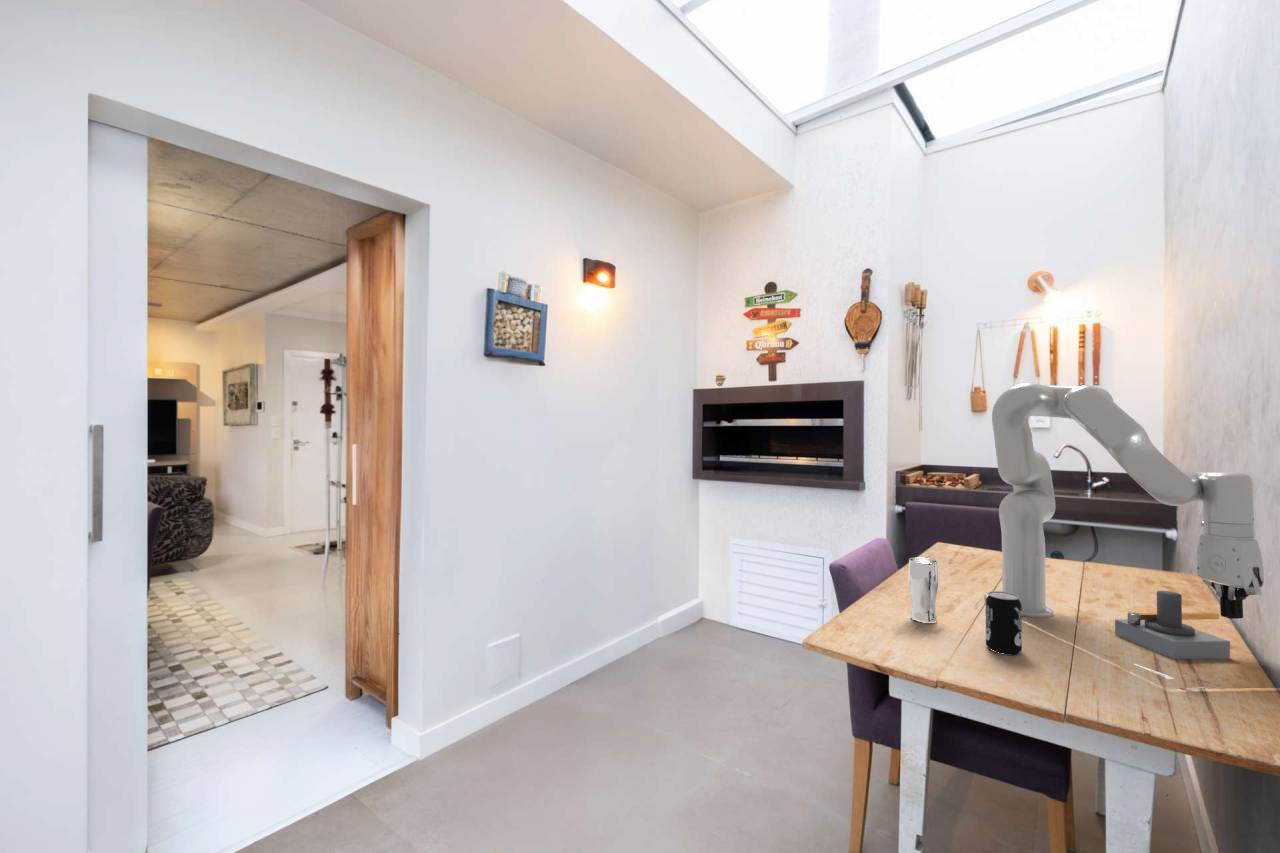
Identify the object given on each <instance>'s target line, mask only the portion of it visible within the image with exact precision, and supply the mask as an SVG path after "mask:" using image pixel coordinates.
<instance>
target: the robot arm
mask: <svg viewBox="0 0 1280 853" xmlns="http://www.w3.org/2000/svg"><path fill="white" fill-rule="evenodd" d="M1030 417H1046V418H1047V417H1049V418H1050V417H1051V418H1062V419H1072V420H1073V421H1075V422H1076V423H1077V424H1078V425H1079V426H1080V427H1082V428H1083V429H1084V430H1085V431H1086V433H1088V434H1089V435H1090V436H1091V437H1092V438H1093V439H1095V441H1097V443H1099V444H1100V445H1101V447H1103V448H1104V449H1105V450H1106V451H1107V453H1108V454H1109V455H1110V456H1111V457H1112V459H1114V461H1116V462H1117V463H1118V465H1119V466H1120V467H1121V468H1122V469H1123V471H1125V473H1127V474H1128V475H1129V476H1130V478H1132V480H1133V481H1135V482H1136V483H1137V484H1138V485H1139V486H1140V487H1141V488H1142V489H1143V490H1144V491H1146V492H1147V493H1148V494H1149V495H1150V496H1151V497H1153V498H1154V499H1155V500H1156V501H1158V502H1160V503H1161V504H1163V505H1167V506H1172V507H1174V506H1175V507H1179V506H1185V505H1188V504H1191V503H1202V516H1203V521H1202V522H1201V523H1200V526H1201V527H1202V528H1203V533H1200V535H1199V538H1198V541H1197V542H1198V543H1197V548H1196V556H1195V572H1196V575H1197V577H1198V578H1200V579H1201V580H1202V583H1204V584H1205V585H1207V586H1209V587H1210V586H1211V587H1212V588H1213V589H1214V592H1215V593H1216V594H1215V595H1216V596H1217V597H1218V598H1219V605H1220V606H1219V607H1220V608H1219V609H1220V611H1219V612H1220V617H1224V618H1227V619H1230V620H1232V619H1239V620H1240V619H1243V618H1244V604H1243V601H1245V600H1247V597H1249V596H1261V595H1262V590H1261V588H1262V587H1263V586H1264V582H1265V572H1264V564H1263V563H1264V562H1263V556H1262V552H1261V548H1260V546H1259V544H1260V543H1259V542H1258V539H1256V537H1255V536H1256V535H1255V518H1254V517H1255V516H1254V515H1255V514H1254V491H1253V490H1254V489H1253V486H1254V485H1253V479H1252V478H1251V476H1250V475H1249V474H1247V473H1244V472H1234V471H1233V472H1232V471H1214V472H1205V471H1204V472H1202V471H1195V470H1185V469H1180V468H1178V467H1177V465H1175V464H1174V463H1172V461H1170V460H1169V459H1168V458H1167V457H1166V456H1165V455H1164V454H1162V452H1161V451H1160V450H1159V449H1158V448H1157V447H1156V446H1155V445H1154V443H1152V441H1151V439H1150V437H1149V435H1148V433H1147V431H1146V429H1145V428H1144V427H1143V426H1142V425H1141V424H1140V423H1139V422H1137V421H1136V420H1135V419H1134V418H1133V417H1132V416H1130V415H1129V414H1128V413H1127V412H1125V411H1124V410H1123V409H1122V408H1121V407H1120V406H1119V405H1118V404H1117V403H1115V401H1114V398H1113V397H1112V395H1111V394H1110V393H1109V391H1107V390H1106V389H1104V388H1102V387H1098V386H1094V385H1085V384H1084V385H1078V386H1065V385H1062V386H1061V385H1047V384H1040V383H1034V382H1033V383H1032V382H1027V383H1026V382H1024V383H1020V384H1016V385H1013V386H1011V387H1010V388H1008V389H1007V390H1005V391H1004V392H1002V393H1001V395H1000V396H999V397H997V399H996V401H995V403H994V405H993V407H992V411H991V423H992V429H993V439H994V446H995V455H996V462H997V472H998V474H999V477H1000V479H1001V480H1002V481H1003V482H1005V483H1006V484H1008V485H1011V486H1012V490H1013V491H1012V492H1010V493H1009V494H1007V495H1006V496H1005V497H1004V498H1003V499H1002V500H1001V502H1000V503H999V508H998V518H999V523H1000V531H1001V563H1002V564H1001V568H1002V569H1001V576H1002V577H1001V578H1002V579H1001V590H999V591H1000V592H1008V593H1012V594H1015V595H1017V596H1019V601H1020V602H1021V605H1022V616H1023V618H1030V617H1031V618H1051V617H1053V616H1054V611H1053V609H1052V607H1049V606H1047V604H1046V603H1047V601H1046V600H1047V598H1046V597H1047V595H1046V592H1047V590H1046V589H1047V588H1046V580H1047V579H1046V578H1047V577H1046V538H1045V532H1044V526H1043V525H1044V523H1046V522H1048V521H1049V520H1051V519H1052V518H1053V516H1054V515H1055V512H1056V508H1057V506H1056V496H1055V490H1054V484H1053V483H1054V482H1053V475H1052V472H1051V466H1050V464H1049V461H1048V459H1047V458H1046V457H1045V455H1043V454H1042V453H1041V452H1038V451H1036V450H1035V448H1034V443H1033V434H1032V430H1031V427H1030V424H1029V419H1030ZM987 597H988V594H987V595H986V594H985V595H984V597H983V600H984V602H985V603H986V598H987Z"/></svg>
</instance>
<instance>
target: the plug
mask: <svg viewBox="0 0 1280 853" xmlns="http://www.w3.org/2000/svg"><path fill="white" fill-rule="evenodd" d="M1182 598H1183V596H1182V594H1181V593H1178V592H1174V591H1170V590H1157V591H1156V613H1157V620H1145V627H1146V628H1148V629H1150V630H1153V631H1156V632H1160V633H1164V634H1169V635H1175V636H1194V635H1195V629H1196V628H1194V627H1192V626H1191V625H1188V624H1185V623H1183V620H1182V613H1183V611H1182V610H1183V609H1182V608H1183V606H1182Z"/></svg>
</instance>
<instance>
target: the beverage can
mask: <svg viewBox="0 0 1280 853" xmlns="http://www.w3.org/2000/svg"><path fill="white" fill-rule="evenodd" d="M1000 591H1001V590H998V591H997V590H994V591H993V590H992V591H989V592H987V595H988V597H987V598H986V602H985V645H986V646H987V648H988V649H989V648H990V649H992V650H994V651H996V652H995V653H997V652H999V653H998V654H1000V653H1004V654H1003V655H1005V654H1012V655H1011V656H1014V655H1015V654H1016V655H1019V653H1020V652H1022V650H1023V649H1022V648H1023V646H1022V643H1023V642H1022V638H1023V634H1022V632H1023V628H1022V626H1023V625H1022V622H1023V621H1022V619H1023V618H1022V605H1021V602H1020V601H1019V596H1017V595H1015V594H1012V593H1008V592H1000ZM990 649H989V650H990ZM992 650H991V651H992ZM994 651H993V652H994ZM1016 655H1015V656H1016Z"/></svg>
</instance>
